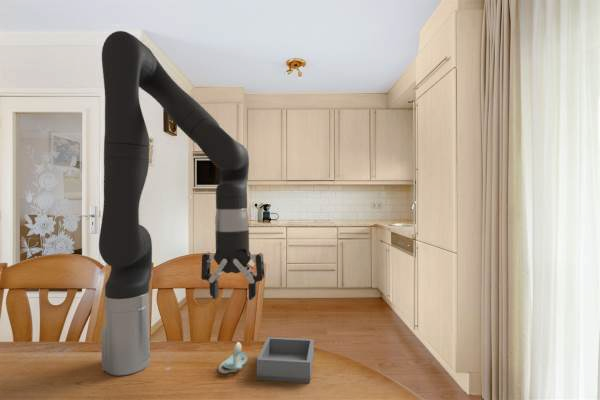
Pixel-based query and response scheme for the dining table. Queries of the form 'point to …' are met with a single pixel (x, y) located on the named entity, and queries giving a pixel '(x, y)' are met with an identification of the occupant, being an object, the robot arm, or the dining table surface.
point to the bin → (286, 360)
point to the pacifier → (234, 360)
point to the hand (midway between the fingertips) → (233, 298)
